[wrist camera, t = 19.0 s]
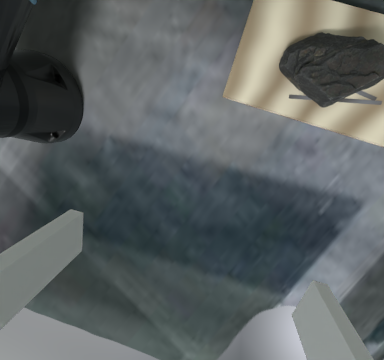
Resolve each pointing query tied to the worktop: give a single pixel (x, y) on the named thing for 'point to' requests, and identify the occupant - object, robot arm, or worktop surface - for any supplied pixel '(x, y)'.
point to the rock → (333, 66)
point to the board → (282, 88)
